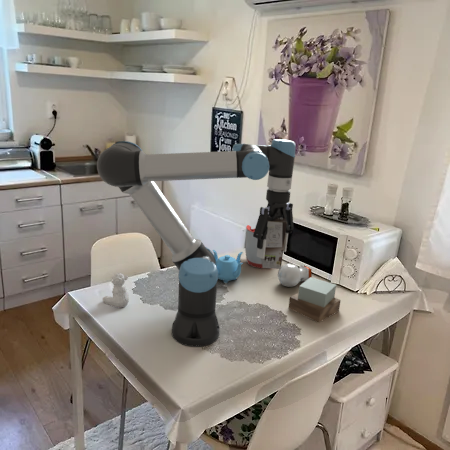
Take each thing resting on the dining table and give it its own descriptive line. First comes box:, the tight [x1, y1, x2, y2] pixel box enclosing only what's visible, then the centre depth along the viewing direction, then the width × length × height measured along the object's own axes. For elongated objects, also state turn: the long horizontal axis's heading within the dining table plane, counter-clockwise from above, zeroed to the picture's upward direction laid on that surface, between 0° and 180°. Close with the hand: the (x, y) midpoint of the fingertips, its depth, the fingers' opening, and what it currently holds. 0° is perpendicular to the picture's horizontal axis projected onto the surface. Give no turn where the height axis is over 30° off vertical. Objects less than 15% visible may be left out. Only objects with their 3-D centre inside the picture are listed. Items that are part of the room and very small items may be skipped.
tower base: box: [288, 292, 341, 323], centre depth 155 cm, size 13×13×5 cm
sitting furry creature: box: [102, 272, 130, 309], centre depth 149 cm, size 10×9×12 cm
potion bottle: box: [277, 262, 313, 288], centre depth 174 cm, size 9×10×15 cm
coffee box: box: [261, 216, 287, 270], centre depth 141 cm, size 9×6×16 cm
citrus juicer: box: [244, 224, 264, 269], centre depth 191 cm, size 16×17×20 cm
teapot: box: [212, 249, 244, 284], centre depth 174 cm, size 13×13×10 cm
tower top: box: [298, 277, 337, 307], centre depth 154 cm, size 10×10×5 cm
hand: (271, 253), depth 143 cm, fingers closed on coffee box, 10 cm apart
